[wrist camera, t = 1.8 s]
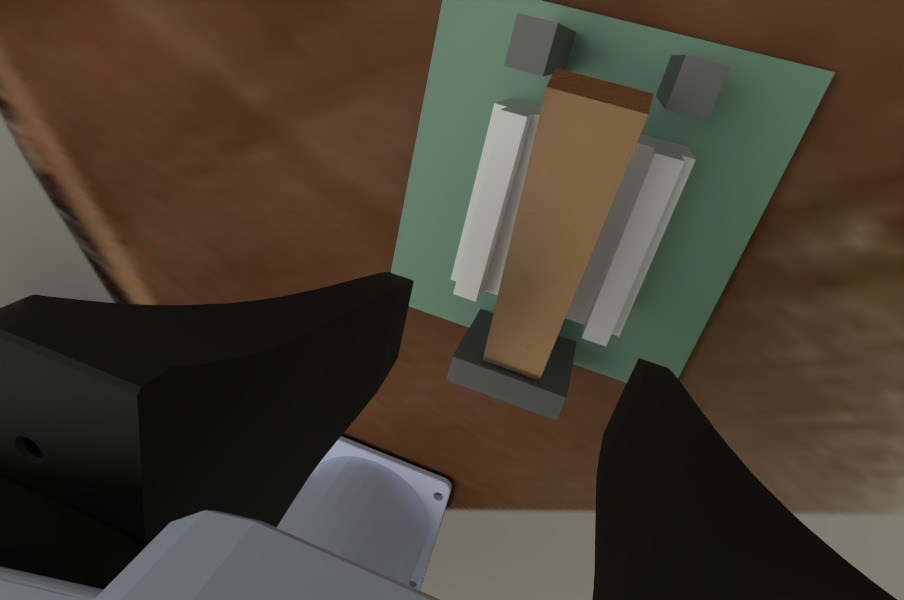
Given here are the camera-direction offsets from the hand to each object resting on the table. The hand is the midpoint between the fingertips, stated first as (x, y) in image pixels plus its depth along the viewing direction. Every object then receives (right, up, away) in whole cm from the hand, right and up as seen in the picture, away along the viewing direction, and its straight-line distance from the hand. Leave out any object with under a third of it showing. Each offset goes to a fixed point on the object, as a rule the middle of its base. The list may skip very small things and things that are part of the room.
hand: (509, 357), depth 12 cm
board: (+3, +5, +9) cm, 10 cm away
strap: (+1, +3, +3) cm, 4 cm away
